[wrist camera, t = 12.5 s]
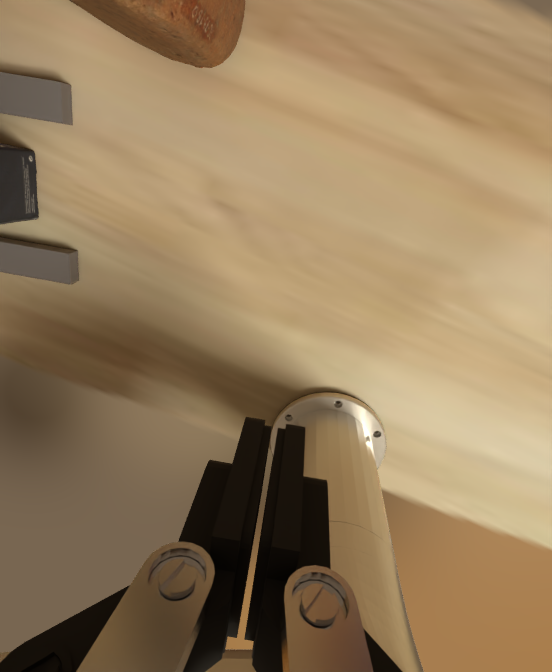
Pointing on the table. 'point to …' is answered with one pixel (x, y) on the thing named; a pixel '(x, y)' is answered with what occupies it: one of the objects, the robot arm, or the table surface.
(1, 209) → the small box
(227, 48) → the block
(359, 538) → the robot arm
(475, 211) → the table surface
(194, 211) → the table surface
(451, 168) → the table surface
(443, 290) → the table surface
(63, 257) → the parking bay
